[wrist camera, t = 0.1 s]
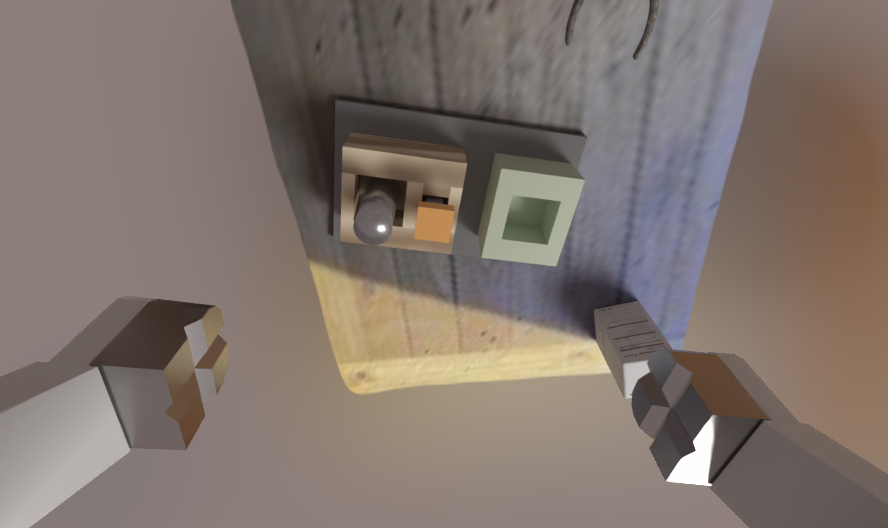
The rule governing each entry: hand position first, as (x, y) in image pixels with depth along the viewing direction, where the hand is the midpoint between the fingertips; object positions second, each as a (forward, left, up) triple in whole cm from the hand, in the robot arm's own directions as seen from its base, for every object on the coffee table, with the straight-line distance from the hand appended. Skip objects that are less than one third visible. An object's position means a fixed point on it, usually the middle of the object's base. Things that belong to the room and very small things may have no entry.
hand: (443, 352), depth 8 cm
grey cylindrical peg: (+15, -5, -46) cm, 49 cm away
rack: (+15, +14, -47) cm, 51 cm away
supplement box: (+34, +35, -48) cm, 69 cm away
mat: (+15, +4, -48) cm, 50 cm away
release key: (+15, +2, -42) cm, 45 cm away
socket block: (+15, -2, -47) cm, 49 cm away
